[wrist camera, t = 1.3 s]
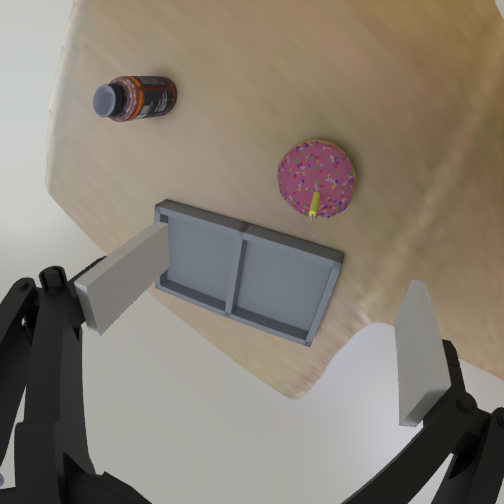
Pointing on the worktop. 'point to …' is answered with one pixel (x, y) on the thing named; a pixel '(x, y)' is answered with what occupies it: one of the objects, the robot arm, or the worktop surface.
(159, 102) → the supplement bottle
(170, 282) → the grey divided tray
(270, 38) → the worktop surface
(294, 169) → the cupcake
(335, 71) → the worktop surface
